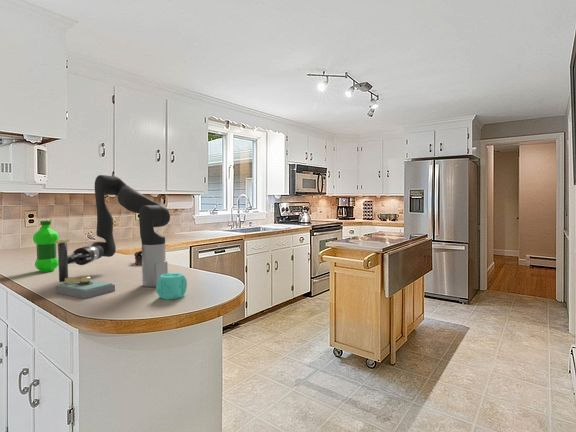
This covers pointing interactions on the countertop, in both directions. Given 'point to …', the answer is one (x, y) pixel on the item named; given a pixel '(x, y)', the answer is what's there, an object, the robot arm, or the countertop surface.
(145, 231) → the robot arm
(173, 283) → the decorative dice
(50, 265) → the plastic bottle
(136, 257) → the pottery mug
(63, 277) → the t key
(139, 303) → the countertop surface
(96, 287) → the plate
